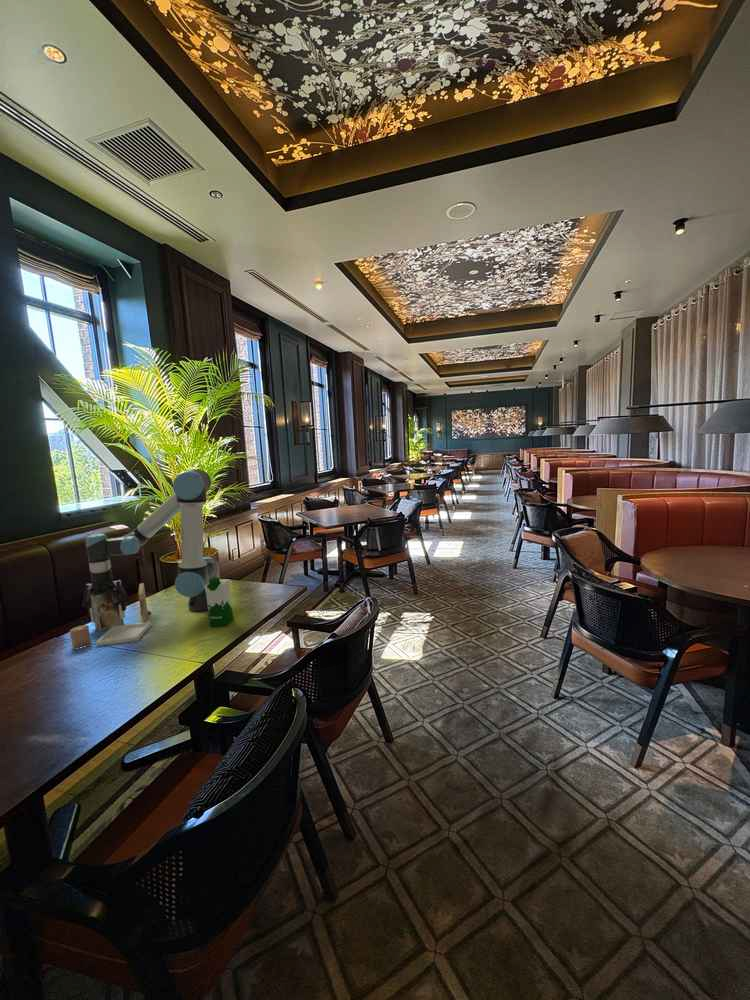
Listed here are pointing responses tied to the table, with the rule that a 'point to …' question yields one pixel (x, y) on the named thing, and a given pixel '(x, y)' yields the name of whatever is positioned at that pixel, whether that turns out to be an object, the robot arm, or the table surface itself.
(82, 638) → the brown domed capsule
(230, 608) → the milk carton
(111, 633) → the tray
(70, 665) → the table surface
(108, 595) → the coffee box
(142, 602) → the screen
